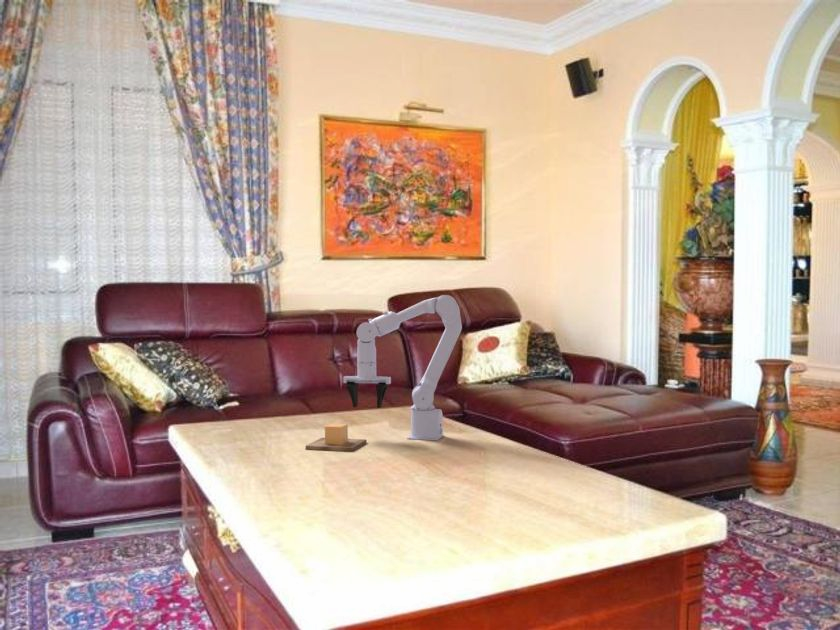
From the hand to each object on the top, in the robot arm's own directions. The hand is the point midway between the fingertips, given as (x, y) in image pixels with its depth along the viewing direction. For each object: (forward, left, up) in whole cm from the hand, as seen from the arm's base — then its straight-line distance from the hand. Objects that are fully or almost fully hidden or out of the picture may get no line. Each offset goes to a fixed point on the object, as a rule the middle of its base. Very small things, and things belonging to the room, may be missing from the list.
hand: (367, 407), depth 224 cm
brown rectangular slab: (+5, +13, -9) cm, 17 cm away
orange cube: (+5, +13, -8) cm, 16 cm away
